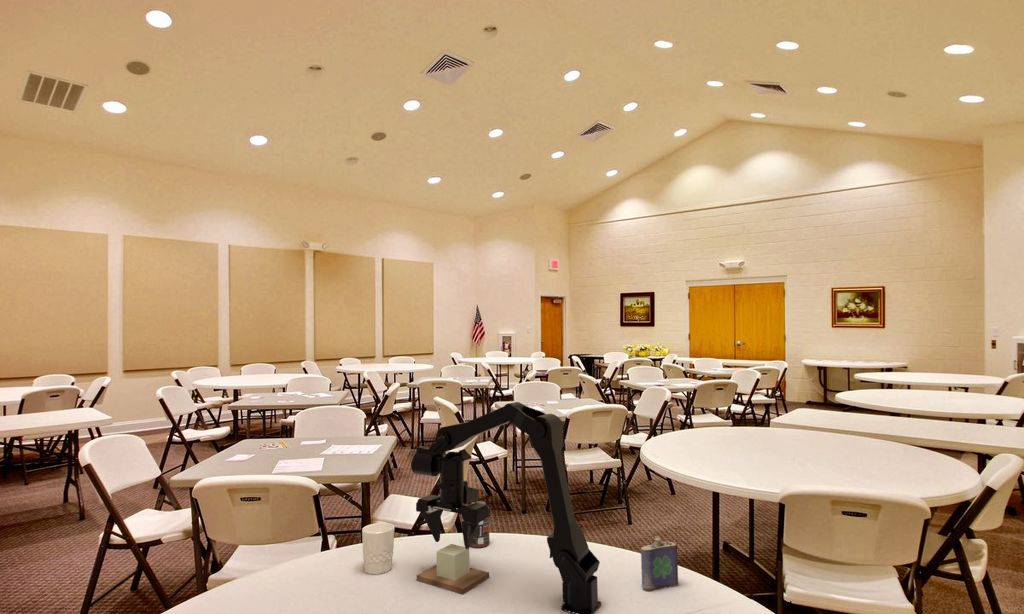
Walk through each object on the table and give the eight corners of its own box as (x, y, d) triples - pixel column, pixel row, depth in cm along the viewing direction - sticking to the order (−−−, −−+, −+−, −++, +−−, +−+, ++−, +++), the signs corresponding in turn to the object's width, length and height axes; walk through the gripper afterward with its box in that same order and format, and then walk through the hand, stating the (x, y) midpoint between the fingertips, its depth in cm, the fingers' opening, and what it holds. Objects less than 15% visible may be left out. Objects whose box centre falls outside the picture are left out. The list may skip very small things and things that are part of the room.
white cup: (359, 566, 131) (359, 525, 131) (390, 560, 134) (390, 520, 135) (364, 578, 123) (364, 535, 124) (397, 571, 127) (397, 529, 128)
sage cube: (469, 571, 123) (469, 548, 123) (454, 580, 118) (454, 555, 119) (451, 567, 126) (451, 543, 126) (436, 575, 121) (436, 551, 122)
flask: (646, 592, 113) (644, 542, 114) (638, 586, 116) (636, 537, 117) (681, 585, 116) (679, 536, 117) (673, 580, 119) (671, 532, 120)
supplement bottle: (486, 549, 140) (486, 506, 141) (465, 547, 142) (465, 505, 143) (491, 541, 146) (491, 500, 147) (471, 540, 147) (471, 499, 148)
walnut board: (489, 577, 122) (489, 572, 122) (463, 594, 114) (463, 588, 114) (444, 565, 130) (444, 560, 130) (416, 580, 122) (416, 575, 122)
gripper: (502, 475, 126) (503, 541, 124) (444, 467, 136) (444, 528, 135) (475, 485, 117) (475, 557, 115) (414, 476, 127) (414, 542, 125)
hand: (452, 545), depth 123 cm, fingers open, 9 cm apart
